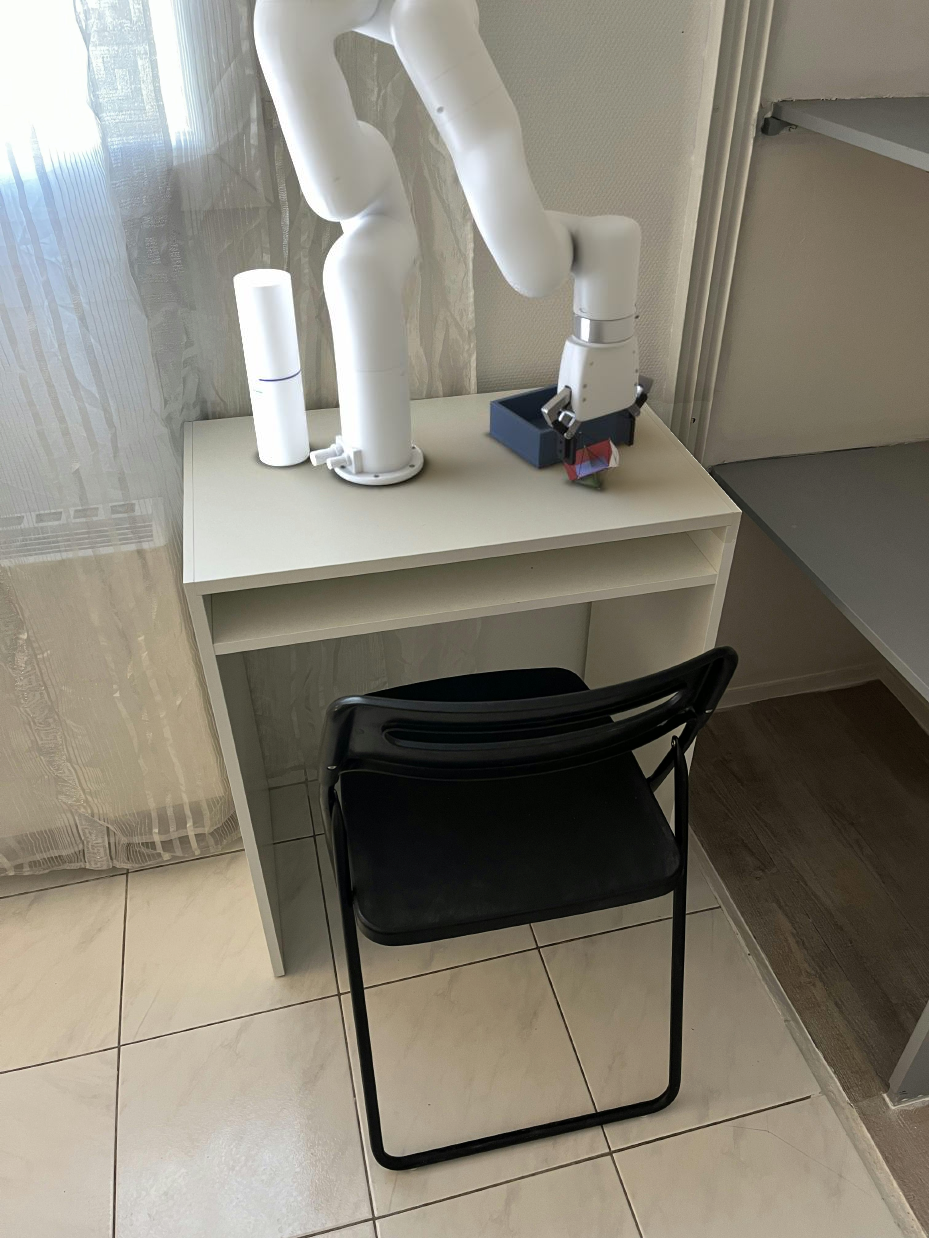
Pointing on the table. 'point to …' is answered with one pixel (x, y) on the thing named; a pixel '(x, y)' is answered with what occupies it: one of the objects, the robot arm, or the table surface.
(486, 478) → the table surface
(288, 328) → the cylindrical container
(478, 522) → the table surface
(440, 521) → the table surface
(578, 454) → the geometric puzzle
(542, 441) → the bin
